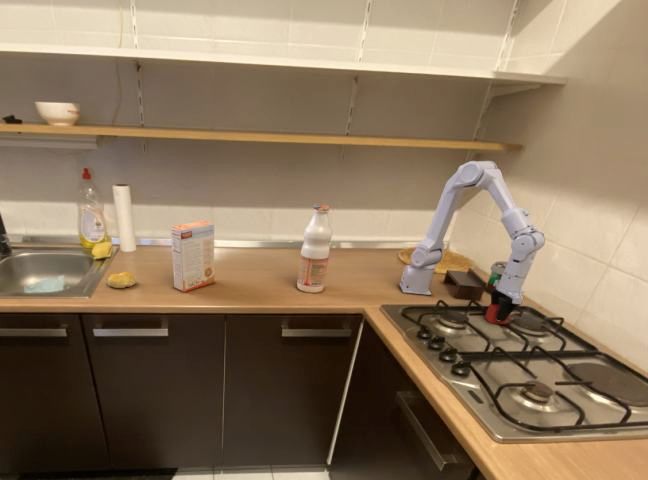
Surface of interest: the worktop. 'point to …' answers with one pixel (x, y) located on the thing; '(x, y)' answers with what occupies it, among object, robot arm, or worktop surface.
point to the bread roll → (121, 280)
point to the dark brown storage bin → (466, 284)
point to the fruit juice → (315, 251)
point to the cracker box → (193, 255)
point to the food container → (495, 274)
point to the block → (494, 314)
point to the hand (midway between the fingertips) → (496, 316)
